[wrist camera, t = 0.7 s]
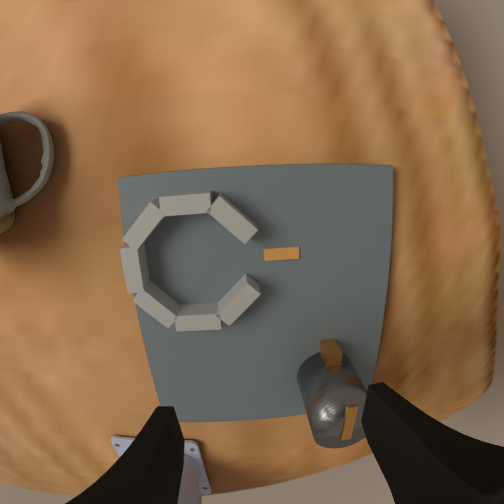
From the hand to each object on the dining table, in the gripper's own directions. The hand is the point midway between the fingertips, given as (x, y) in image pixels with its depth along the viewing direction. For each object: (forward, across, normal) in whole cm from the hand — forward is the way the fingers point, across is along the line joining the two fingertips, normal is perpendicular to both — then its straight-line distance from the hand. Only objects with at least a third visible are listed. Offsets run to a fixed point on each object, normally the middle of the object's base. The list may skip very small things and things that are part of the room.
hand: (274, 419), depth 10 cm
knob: (+9, -5, +6) cm, 12 cm away
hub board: (+10, -1, 0) cm, 10 cm away
